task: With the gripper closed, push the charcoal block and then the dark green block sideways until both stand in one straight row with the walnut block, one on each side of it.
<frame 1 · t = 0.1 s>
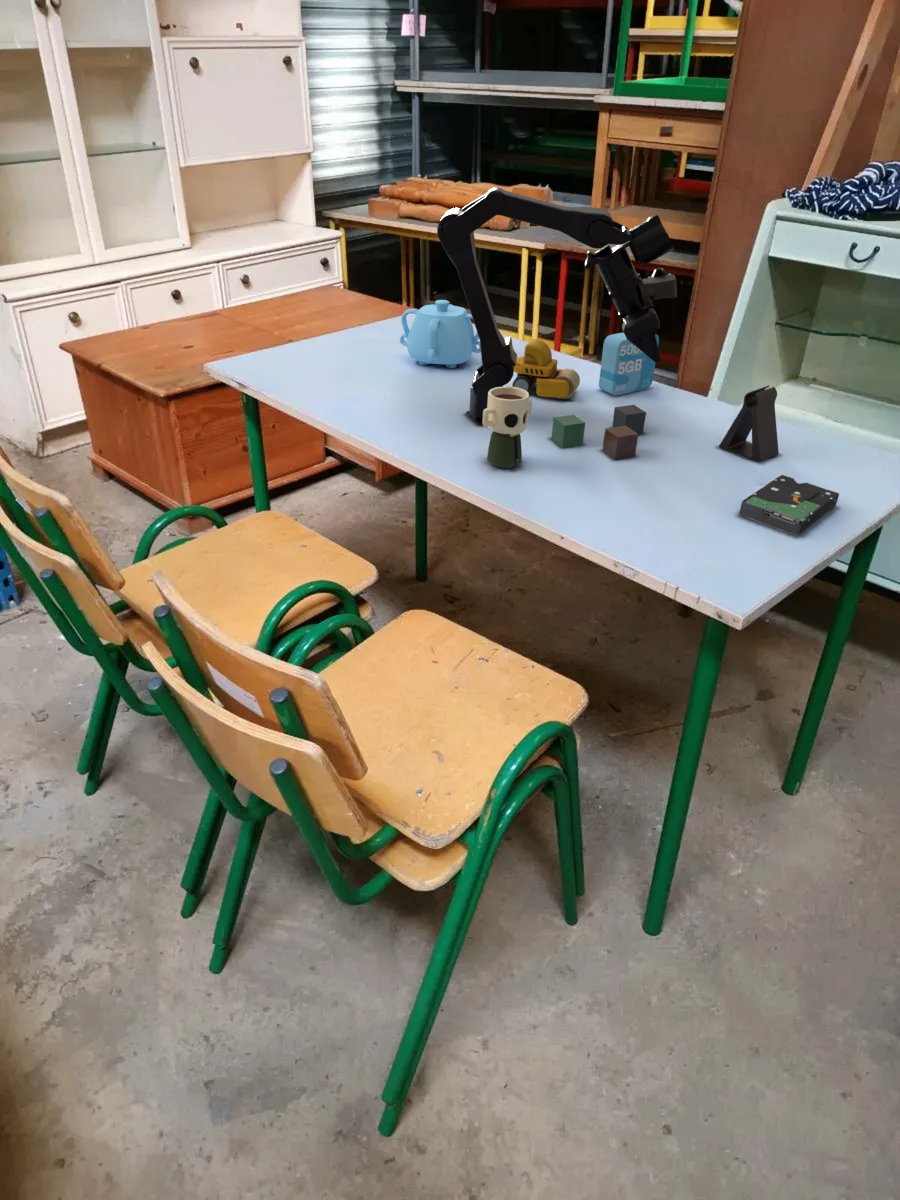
hand: (655, 353, 164), 15 cm above the table, tool tilted 30°, fingers open, 9 cm apart
toy roller: (543, 393, 189), on the table
disk drive: (787, 512, 143), on the table
data package: (624, 390, 191), on the table
green block: (566, 442, 166), on the table
decorative pot: (441, 361, 205), on the table
black triangular stand: (748, 452, 164), on the table
walnut block: (618, 453, 162), on the table
charcoal block: (627, 431, 171), on the table
character mug: (504, 464, 157), on the table
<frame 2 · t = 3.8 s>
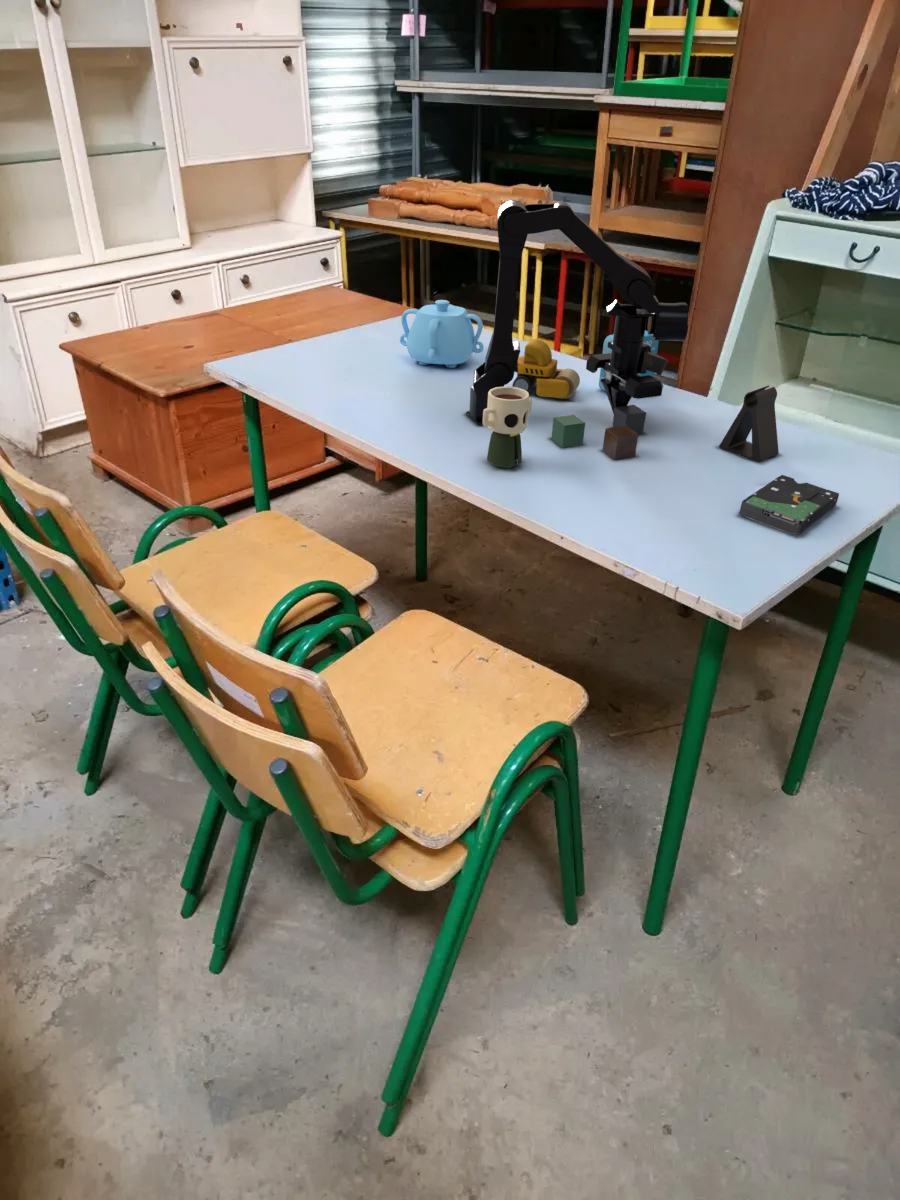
hand: (617, 417, 173), 1 cm above the table, tool pointing down, fingers closed
charcoal block: (627, 431, 171), on the table, touching gripper
everything else where it was.
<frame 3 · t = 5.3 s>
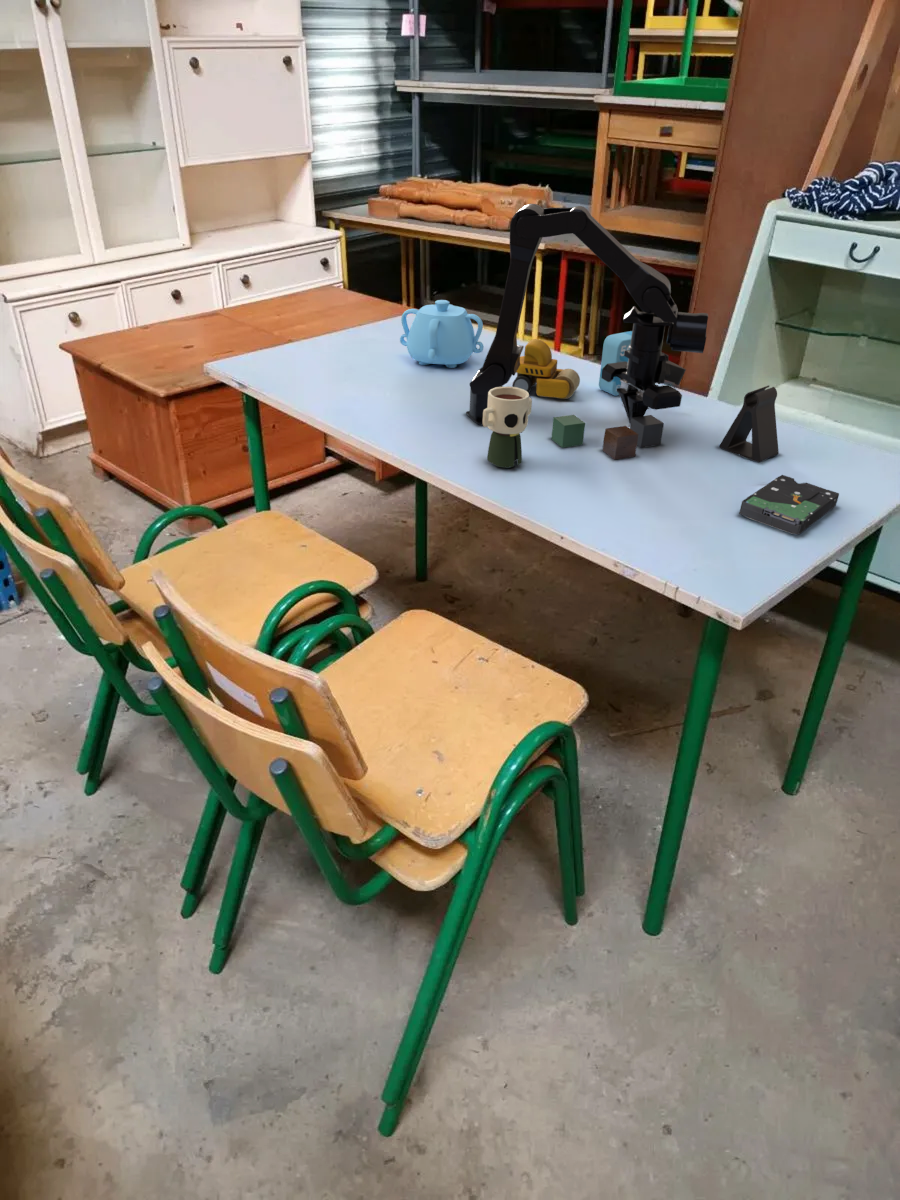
hand: (634, 427, 169), 1 cm above the table, tool pointing down, fingers closed
charcoal block: (644, 442, 167), on the table, touching gripper
everything else where it was.
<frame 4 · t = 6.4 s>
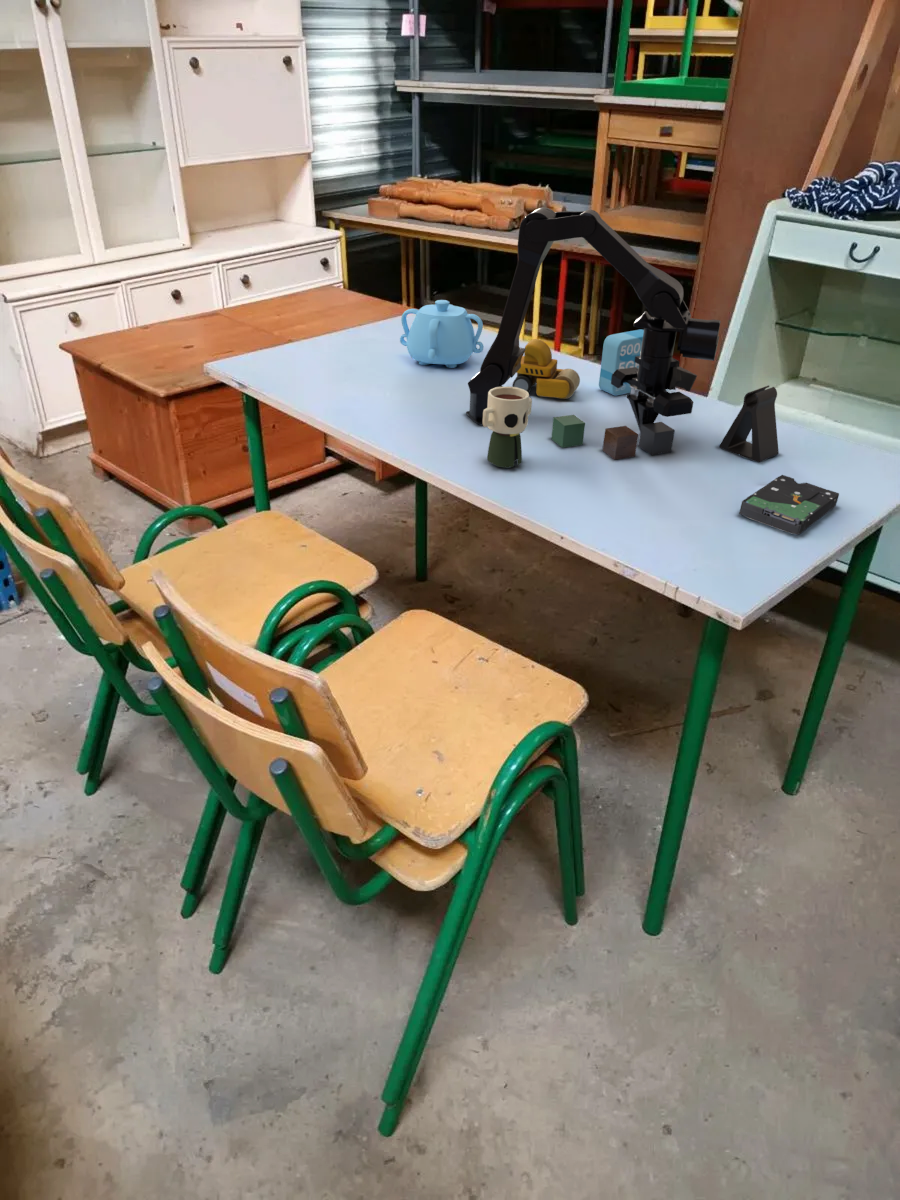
hand: (644, 434, 166), 1 cm above the table, tool pointing down, fingers closed
charcoal block: (654, 449, 164), on the table, touching gripper
everything else where it was.
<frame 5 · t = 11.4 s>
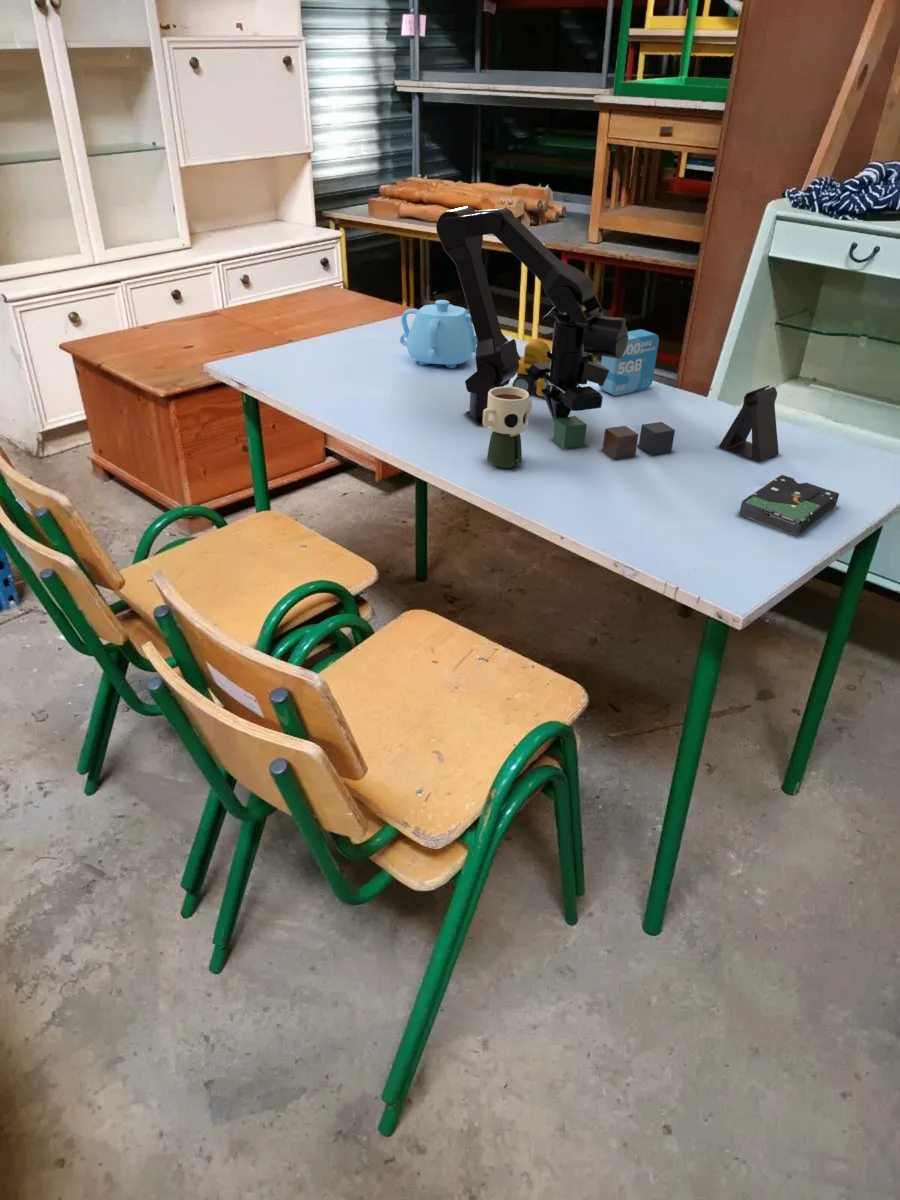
hand: (559, 428, 167), 1 cm above the table, tool pointing down, fingers closed
green block: (568, 443, 165), on the table, touching gripper
charcoal block: (654, 449, 164), on the table
everything else where it was.
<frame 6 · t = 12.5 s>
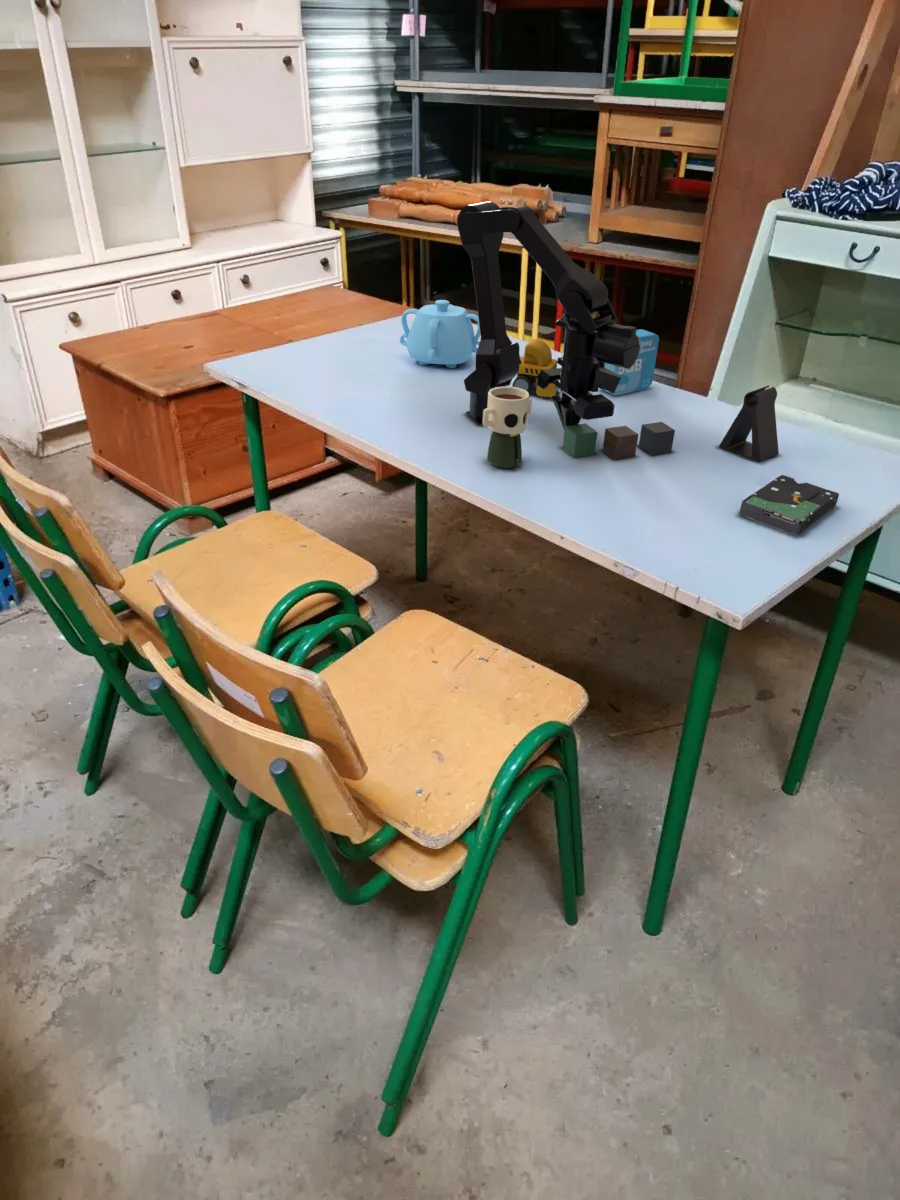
hand: (569, 436, 164), 1 cm above the table, tool pointing down, fingers closed
green block: (578, 451, 162), on the table, touching gripper
everything else where it was.
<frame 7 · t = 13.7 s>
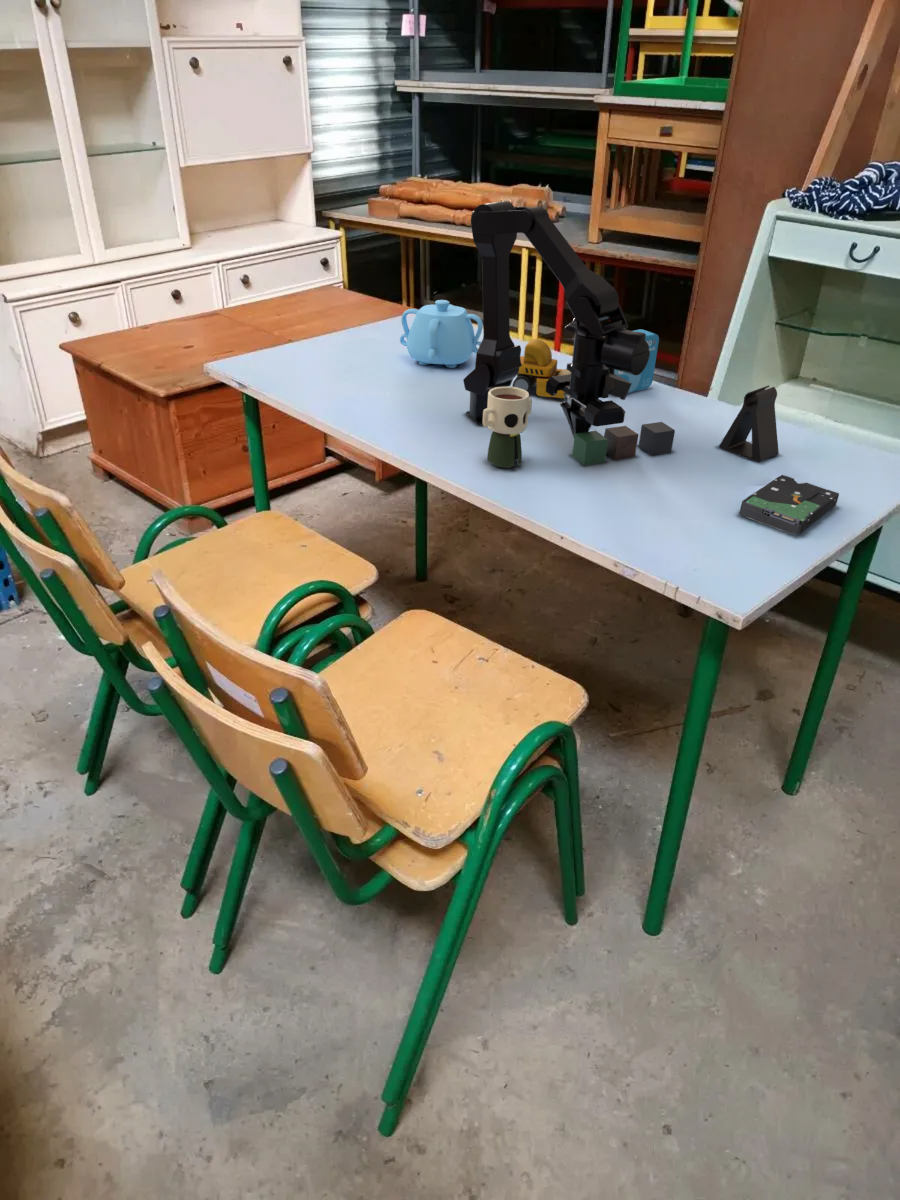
hand: (578, 443, 162), 1 cm above the table, tool pointing down, fingers closed
green block: (588, 459, 159), on the table, touching gripper
everything else where it was.
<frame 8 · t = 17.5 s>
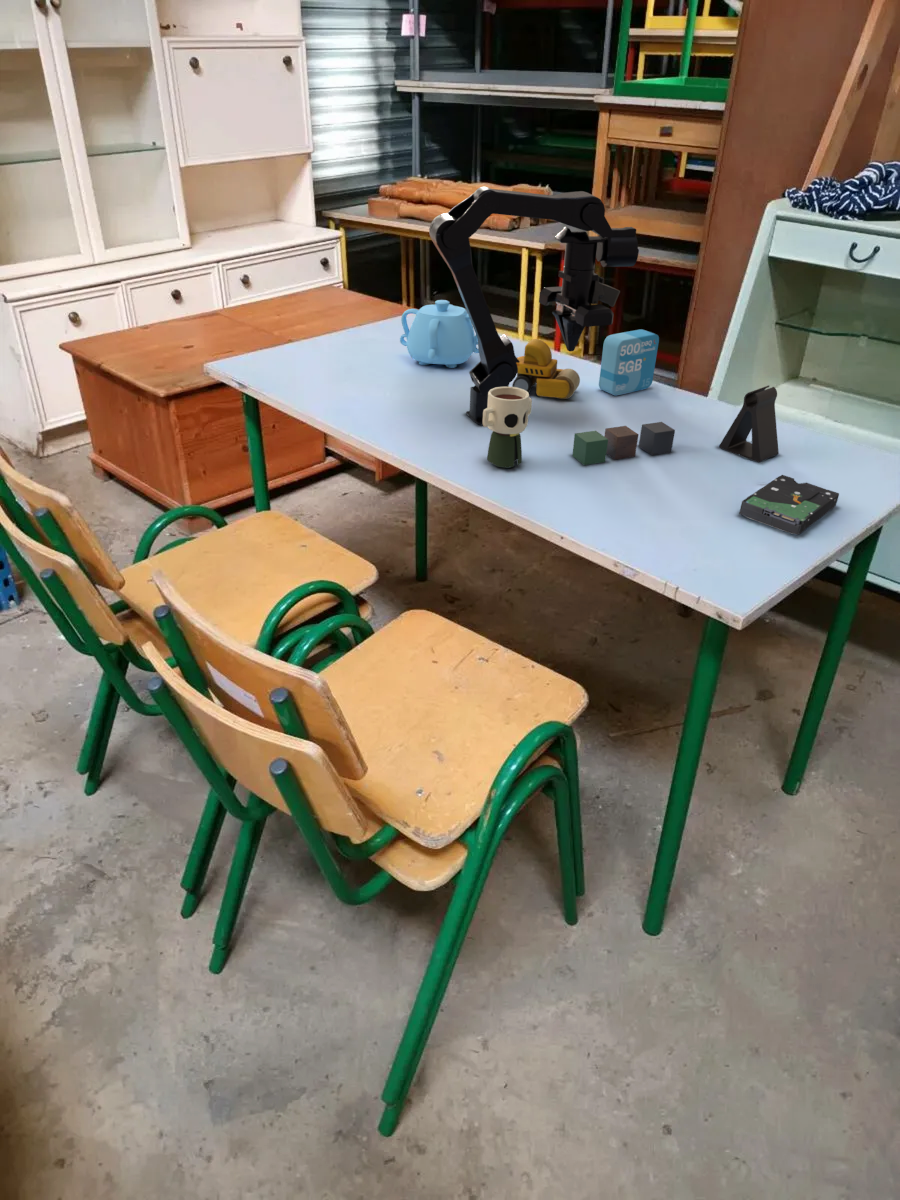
hand: (570, 350, 171), 13 cm above the table, tool pointing down, fingers closed
green block: (588, 459, 159), on the table
everything else where it was.
at the end: green block 0.3 cm from the target spot on the table beside the walnut block, on the table; charcoal block 0.8 cm from the target spot on the table beside the walnut block, on the table; walnut block moved 0.0 cm from its start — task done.
